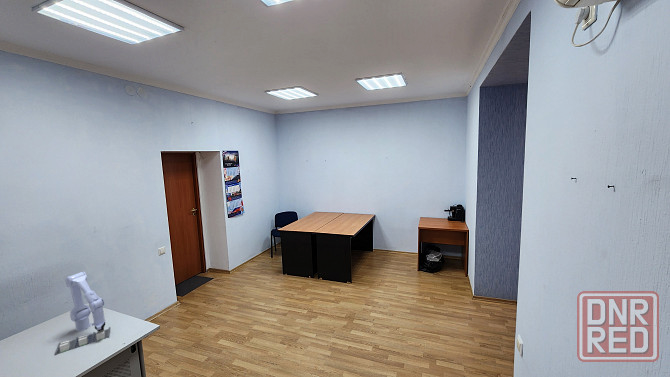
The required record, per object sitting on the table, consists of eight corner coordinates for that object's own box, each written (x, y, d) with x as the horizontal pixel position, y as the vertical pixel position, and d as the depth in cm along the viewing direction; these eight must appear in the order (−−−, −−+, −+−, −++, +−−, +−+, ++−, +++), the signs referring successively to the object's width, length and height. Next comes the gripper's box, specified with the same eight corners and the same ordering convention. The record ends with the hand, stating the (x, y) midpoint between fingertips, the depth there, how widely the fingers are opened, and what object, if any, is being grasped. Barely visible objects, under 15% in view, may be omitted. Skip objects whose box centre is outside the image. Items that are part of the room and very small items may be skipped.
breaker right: (61, 348, 178) (60, 342, 177) (70, 345, 180) (69, 340, 180) (60, 352, 175) (59, 346, 174) (68, 349, 177) (67, 343, 176)
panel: (59, 346, 182) (58, 343, 182) (110, 329, 198) (110, 326, 198) (55, 356, 173) (54, 353, 172) (109, 338, 188) (109, 335, 188)
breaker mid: (80, 342, 183) (79, 336, 183) (88, 339, 186) (87, 334, 185) (79, 345, 180) (78, 340, 179) (87, 343, 182) (86, 337, 182)
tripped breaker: (97, 337, 188) (96, 331, 188) (105, 334, 190) (104, 329, 190) (97, 340, 185) (96, 334, 184) (104, 337, 187) (103, 332, 187)
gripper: (91, 313, 191) (94, 330, 193) (89, 323, 180) (93, 342, 182) (104, 309, 196) (107, 326, 198) (103, 319, 184) (106, 337, 186)
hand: (101, 333), depth 190 cm, fingers closed
